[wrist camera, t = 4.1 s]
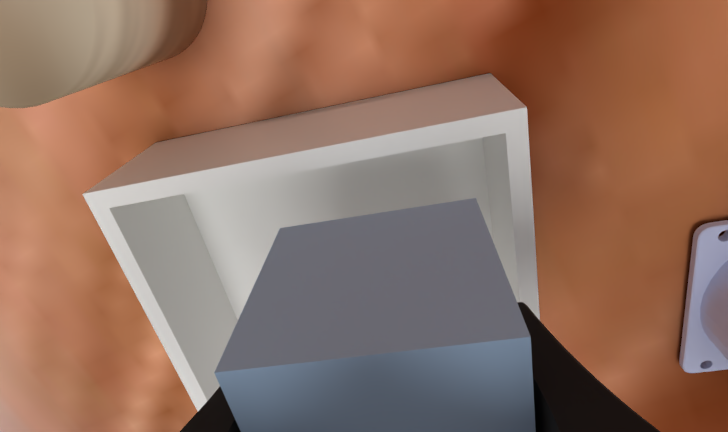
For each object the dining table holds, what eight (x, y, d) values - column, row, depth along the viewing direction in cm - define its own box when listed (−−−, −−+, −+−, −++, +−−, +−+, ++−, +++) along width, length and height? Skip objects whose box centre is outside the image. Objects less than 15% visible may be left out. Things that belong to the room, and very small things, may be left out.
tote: (490, 73, 17) (526, 107, 12) (521, 405, 24) (551, 501, 20) (155, 142, 19) (82, 193, 14) (280, 432, 26) (258, 525, 22)
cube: (475, 197, 11) (530, 336, 7) (491, 352, 14) (540, 535, 9) (279, 228, 12) (214, 372, 8) (324, 371, 14) (293, 550, 10)
